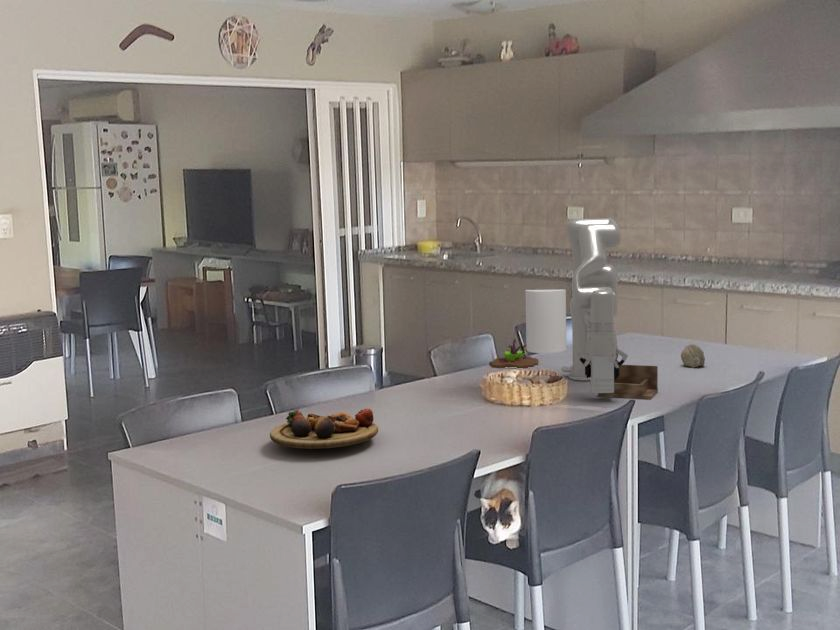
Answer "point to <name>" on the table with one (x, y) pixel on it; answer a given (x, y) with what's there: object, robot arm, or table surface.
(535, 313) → the cylinder
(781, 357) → the table surface
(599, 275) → the robot arm
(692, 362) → the round rough stone
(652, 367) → the walnut caddy
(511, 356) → the plant
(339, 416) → the wooden plate with food
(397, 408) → the table surface
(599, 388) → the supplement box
